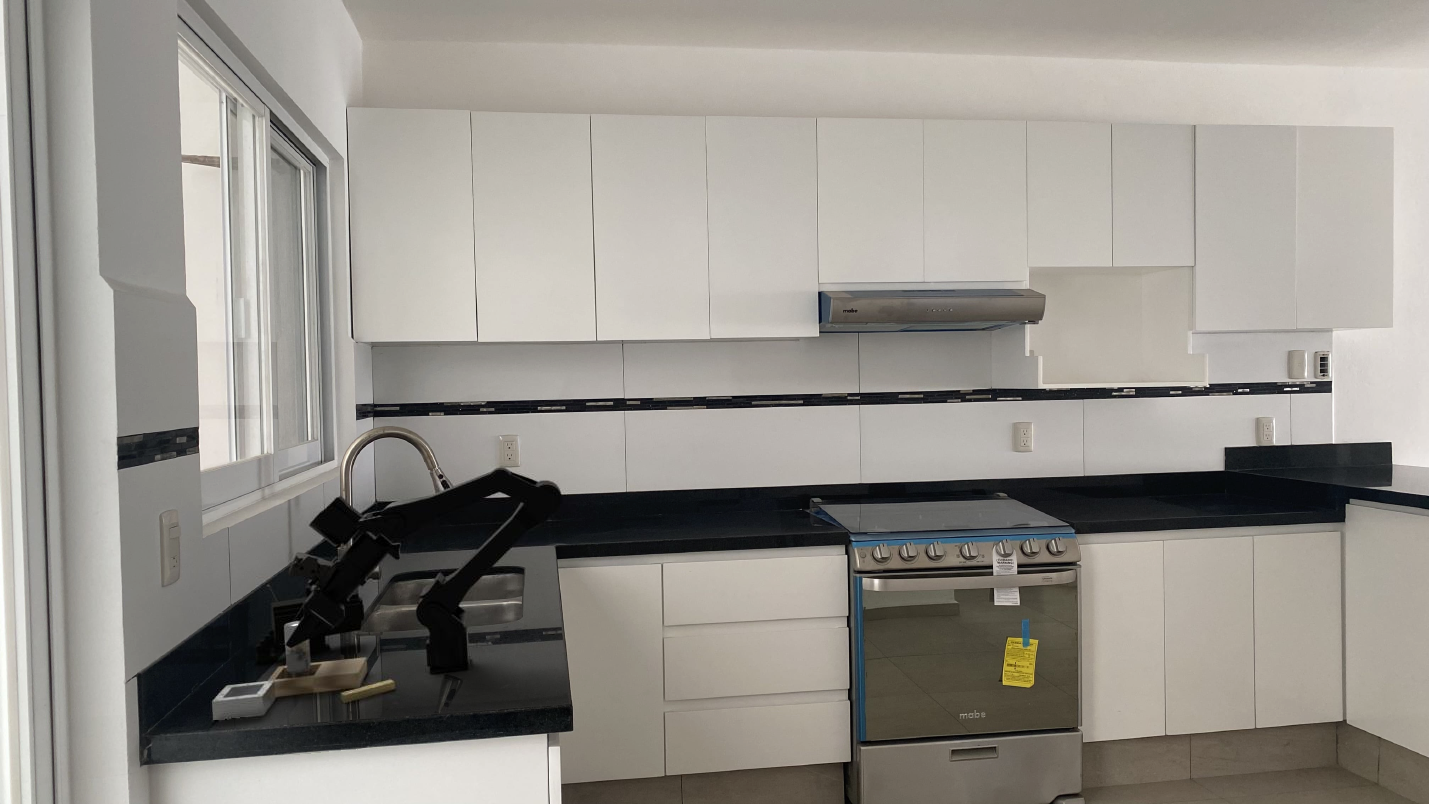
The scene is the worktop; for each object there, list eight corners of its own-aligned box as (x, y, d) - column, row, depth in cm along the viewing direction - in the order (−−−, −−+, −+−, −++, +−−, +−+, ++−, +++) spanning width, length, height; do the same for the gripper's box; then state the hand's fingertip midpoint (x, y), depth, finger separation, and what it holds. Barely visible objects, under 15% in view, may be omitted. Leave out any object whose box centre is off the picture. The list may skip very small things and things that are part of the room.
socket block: (275, 698, 144) (274, 680, 144) (263, 715, 137) (262, 695, 137) (227, 704, 142) (226, 685, 142) (213, 721, 136) (212, 701, 136)
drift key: (390, 686, 147) (390, 679, 147) (394, 688, 146) (394, 681, 146) (341, 700, 142) (340, 693, 142) (344, 703, 141) (344, 695, 141)
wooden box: (367, 671, 155) (366, 657, 155) (359, 687, 148) (358, 672, 148) (279, 681, 152) (278, 666, 152) (267, 697, 145) (266, 682, 145)
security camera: (255, 657, 166) (251, 604, 166) (361, 638, 176) (358, 587, 175) (258, 667, 160) (254, 612, 160) (367, 647, 170) (364, 594, 169)
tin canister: (315, 681, 151) (311, 620, 151) (306, 689, 148) (302, 626, 147) (293, 683, 151) (289, 621, 151) (284, 691, 148) (280, 627, 147)
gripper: (319, 526, 159) (253, 596, 155) (316, 544, 141) (242, 624, 138) (370, 564, 162) (306, 634, 158) (373, 586, 145) (302, 666, 141)
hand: (289, 638), depth 149 cm, fingers open, 9 cm apart
